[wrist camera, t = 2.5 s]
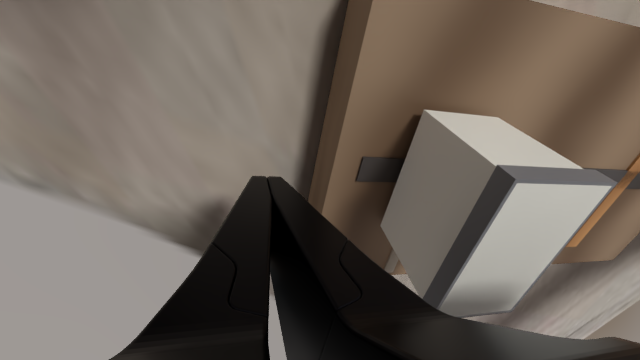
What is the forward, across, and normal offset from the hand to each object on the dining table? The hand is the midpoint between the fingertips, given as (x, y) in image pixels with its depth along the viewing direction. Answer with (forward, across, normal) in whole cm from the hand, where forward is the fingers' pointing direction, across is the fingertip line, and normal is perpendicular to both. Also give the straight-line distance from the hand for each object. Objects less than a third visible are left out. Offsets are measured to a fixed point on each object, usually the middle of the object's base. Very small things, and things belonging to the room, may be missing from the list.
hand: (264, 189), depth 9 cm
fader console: (+4, -12, 0) cm, 13 cm away
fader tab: (+1, -7, 0) cm, 7 cm away
